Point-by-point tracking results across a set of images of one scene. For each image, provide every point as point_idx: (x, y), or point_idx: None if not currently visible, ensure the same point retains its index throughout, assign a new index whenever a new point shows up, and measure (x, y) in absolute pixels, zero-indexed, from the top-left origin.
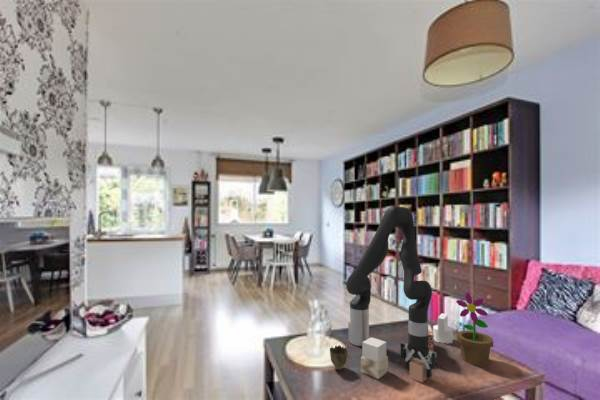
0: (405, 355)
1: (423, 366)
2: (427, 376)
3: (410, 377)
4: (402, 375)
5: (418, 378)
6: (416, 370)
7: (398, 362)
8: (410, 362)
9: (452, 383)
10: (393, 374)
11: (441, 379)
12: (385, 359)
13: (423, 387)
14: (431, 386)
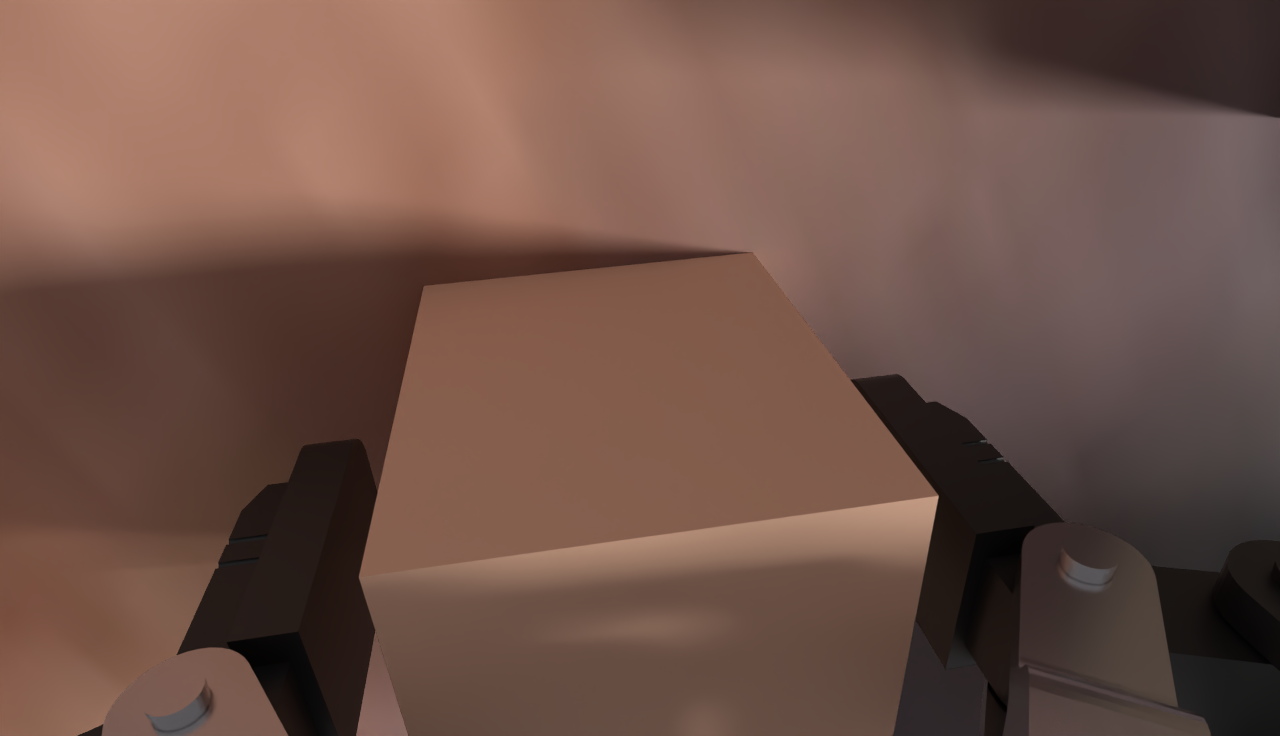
0: (1217, 724)
1: (397, 653)
2: (309, 467)
3: (735, 261)
4: (928, 216)
5: (523, 304)
6: (599, 404)
7: None
8: (904, 521)
9: (20, 703)
10: (1132, 83)
11: None
12: None
13: (243, 84)
14: (161, 297)
